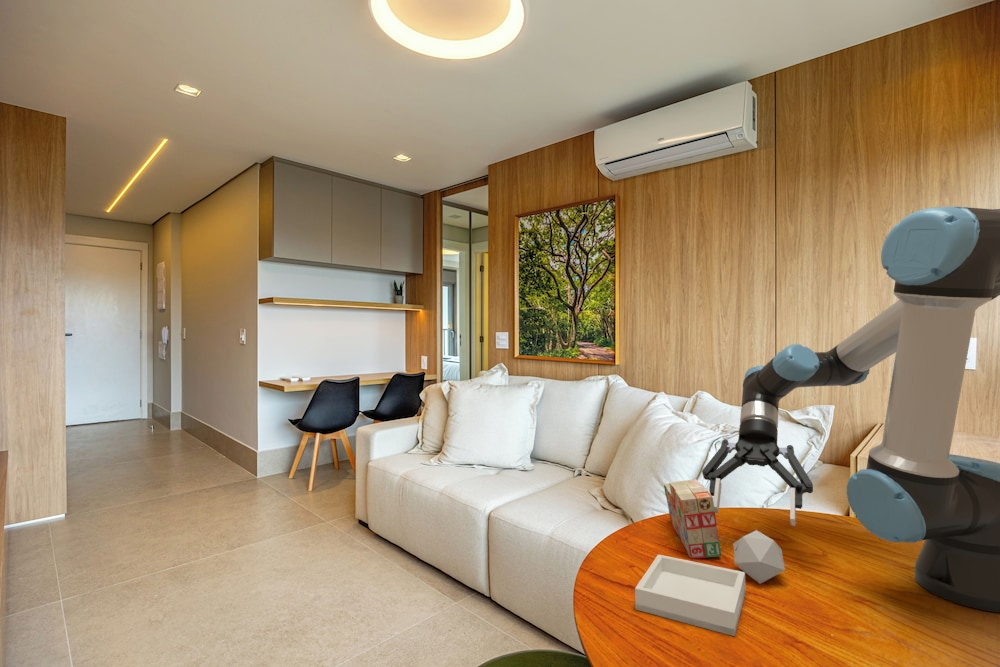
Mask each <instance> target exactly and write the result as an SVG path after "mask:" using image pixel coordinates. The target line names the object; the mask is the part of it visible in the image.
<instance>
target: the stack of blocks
mask: <svg viewBox="0 0 1000 667" xmlns="http://www.w3.org/2000/svg"><path fill="white" fill-rule="evenodd" d="M663 489H664V495H665V498H666V502H667V503H666V504H667V509H668V514H669V515H668V516H669V520H670V522H671V524H672V526H673V529H674V530H675V532H676V533H677V536H678V537H679V539H680V541H681V543H682V545H683V547H684V549H685V551H686V553H687V555H688V557H689V558H690V560H696V559H706V558H717V557H722V548H721V542H720V539H719V533H718V522H717V518H716V513H715V510H714V503H713V501H714V496H711V494H710V491H709V490H708V489H707V488H706V487H705V486H704V485H703V484H702V483H701V482H700V481H699V480H698V479H697V478H695V479H686V480H679V481H670V482H669V483H664V484H663Z"/></svg>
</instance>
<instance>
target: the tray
mask: <svg viewBox="0 0 1000 667" xmlns="http://www.w3.org/2000/svg"><path fill="white" fill-rule="evenodd" d="M634 592H635V593H634V597H635V599H634V600H635V606H634V607H635V610H636V611H639V612H643V613H646V614H651V615H653V616H654V615H655V616H659V617H661V618H666V619H670V620H672V621H676V622H680V623H683V624H688V625H691V626H695V627H698V628H703V629H707V630H709V631H713V632H718V633H721V634H724V635H729V636H733V637H736V633H737V630H738V626H739V625H738V624H739V621H740V617H741V612H742V608H743V605H744V601H745V596H746V573H745V572H744V571H742V570H741V571H740V570H735V569H731V568H727V567H722V566H717V565H716V566H715V565H711V564H706V563H702V562H697V561H692V560H687V559H682V558H677V557H672V556H668V555H663V554H657V556H656V557H655V558H654V560H653V562H652V563H651V564H650V566H649V567H648V569H647V570H646V572H645V573H644V575H643V576H642V578H641V579H640V580H639V581H638V583H637V585H636V586H635V588H634Z"/></svg>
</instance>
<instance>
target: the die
mask: <svg viewBox="0 0 1000 667" xmlns="http://www.w3.org/2000/svg"><path fill="white" fill-rule="evenodd" d="M733 557H734V558H733V559H734V561H733V562H734V564H735V565H736V566H737V567H738V568H739V569H740V570H741V572H745V575H748V576H749V577H750V578H752V580H754V581H755V582H757V584H760V585H761V584H763V583H765V582H767V581H769V580H770V579H772V578H774V577H776V576H777V575H779V574H781V573H783V572H784V571H786V568H785V561H784V557H783V551H782V548H781V547H780V545H778V544H777V542H776V541H775V540H774V539H772V538H770V537H769V536H767V535H765V534H763V533H762V532H761V531H758V529H756V530H754V531H752V532H750V533H747V534H746V535H744V536H741V537H740V538H739V539H738V540H736V541H735V542H733Z"/></svg>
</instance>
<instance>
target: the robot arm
mask: <svg viewBox="0 0 1000 667" xmlns="http://www.w3.org/2000/svg"><path fill="white" fill-rule="evenodd" d="M880 259H881V260H880V261H881V265H882V268H883V269H884V270H885V271H886V275H887V276H888V277H889V278H891V279H892V280H893V281H894V288H893V295H894V296H895V297H896V298H897V299H898V300H897V301H895V302H894V303H893V304H891V305H890V306H889V307H888V308H886V309H884V311H882V312H881V313H879V314H878V315H877V316H874V318H872V319H871V320H870V321H868V322H867V323H865V324H864V325H862V326H861V327H860V328H859V329H857V330H855V332H853V333H852V334H851V335H849V336H847V337H846V338H845V339H844V340H843V341H840V343H839V344H837V345H835V346H834V347H833V348H831V349H830V350H828V351H821V352H817V351H816V352H815V351H813V349H811V348H809V347H808V346H803V345H802V344H800V343H793V344H790V345H787V346H786V347H784V349H782V350H780V351H779V352H777V353H776V354H775V356H773V357H772V359H770V360H769V362H767V363H766V364H765V365H756V366H754V367H749V368H748V369H747V370H746V372H745V374H744V378H743V381H742V382H743V383H742V394H741V395H742V396H741V409H740V418H739V419H740V420H739V427H738V428H739V429H738V430H739V431H738V440H737V442H735V443H734V442H730V441H729V440H728V439H726V438H725V439H722V442H721V445H720V448H719V449H718V450H717V451H716V453H715V454H714V455H713V456H712V457H711V459H710V460H709V461H708V462H707V464H706V465H705V466H704V468H702V470H701V471H702V477H703V479H704V480H707V481H709V482H710V483H709V490H708V492H709V493H710V495H711V496H712V497H713V503H714V510H715V514H719V513H720V512H719V511H720V502H721V496H722V495H721V494H722V480H723V479H725V478H726V477H727V476H728V475H730V474H731V473H733V472H734V471H735V470H736V469H738V468H739V467H742V466H743V465H745V464H748V466H758V467H765V466H768V467H769V468H770V469H772V470H773V471H775V473H776V474H777V475H778V476H779V477H780V479H782V480H783V481H784V482H785V484H787V486H789V487H790V498H789V500H790V502H789V505H790V506H789V510H790V511H789V514H790V515H789V520H790V522H789V523H790V526H793V527H794V526H796V509H800V510H802V509H803V496H804V494H806V493H808V494H812V493H813V492H814V484H813V482H812V480H811V479H810V477H809V476H808V474H807V473H806V470H804V468H803V466H802V465H801V463H800V461H799V460H798V458H797V456H796V454H795V450H794V449H795V448H794V446H793V445H791V444H788V445H787V446H786V447H779V446H778V435H779V434H778V431H779V430H778V428H779V406H780V405H779V404H780V401H781V399H783V398H784V397H786V396H788V394H790V393H791V392H792V391H794V390H795V389H797V388H807V387H809V388H813V387H833V386H834V387H835V386H836V387H837V386H840V387H849V386H851V385H857V384H862V382H864V381H865V380H866V379H867V377H868V376H869V374H870V369H872V368H873V367H875V366H877V365H878V364H879V363H881V362H883V361H885V360H886V359H888V358H889V357H891V356H892V355H895V358H894V363H893V369H892V376H891V383H890V388H889V396H888V402H887V406H886V407H887V408H886V414H885V420H884V427H883V434H882V438H881V440H882V441H881V443H880V444H878V445H875V446H874V447H872V448H870V449H869V451H868V456H867V457H868V458H867V463H866V469H865V468H864V469H863V468H862V469H860V470H858V471H857V472H855V473H854V474H851V476H850V477H849V479H848V481H847V484H846V496H847V501H848V504H849V507H850V509H851V511H852V512H853V513H854V515H855V516H856V518H857V520H858V522H860V524H861V525H862V526H863V527H864V528H865V529H866V530H867V531H868V532H870V533H872V534H873V535H874V536H876V537H877V538H879V539H882V540H883V541H887V542H890V543H891V542H892V543H913V544H915V543H917V542H918V543H919V542H921V541H924V543H923V544H922V547H921V549H920V552H919V555H918V557H917V560H916V561H915V563H914V564H915V565H914V578H915V581H916V583H918V585H919V586H920V587H922V588H923V589H925V591H928V592H930V593H931V594H933V595H936V596H937V597H940V598H942V599H945V600H947V601H950V602H953V603H955V604H958V605H962V606H965V607H969V608H973V609H976V610H982V611H987V612H992V613H998V614H999V613H1000V462H997V461H996V462H995V461H991V460H987V459H983V458H982V459H981V458H976V457H970V456H964V455H957V454H951V453H950V451H951V447H952V442H953V441H952V440H953V437H954V431H955V426H956V419H957V414H958V408H959V404H960V403H959V402H960V398H961V394H962V393H961V392H962V386H963V381H964V376H965V370H966V366H967V361H968V360H967V359H968V354H969V348H970V344H971V337H972V332H973V325H974V322H975V321H974V320H975V316H976V311H977V310H978V309H979V308H980V307H981V306H983V305H984V304H987V303H988V302H990V301H991V302H992V301H993V300H994V299H995V298H997V297H999V296H1000V208H998V209H997V208H992V209H991V208H978V207H968V206H967V207H965V206H951V205H948V206H942V207H941V206H940V207H928V208H923V209H921V210H917V211H914V212H913V213H910V214H908V215H906V216H905V217H904V218H903V219H902V220H901V221H900V222H898V223H897V224H895V225H894V227H893V228H892V229H891V230H890V231H889V233H888V234H887V235H886V237H885V240H884V242H883V245H882V248H881V253H880ZM733 450H735V451H736V453H735V454H734V455H733V456H732V457H731V458H730V459H729V460H727V461H726V462H725V463H723V462H724V460H726V458H727V456H728V454H731V453H732V452H733ZM779 455H782V456H783V458H784V459H786V460H788V463H789V465H790V466H791V468H792V471H793V472H794V473H795V475H796V476H797V478H798V479H796V478H795V476H794V475H793V474H792V473H791V471H789V470H788V469H787V468H786V467H785V466H784V465H783V464H782V463H781V462H780V461H779V458H778V457H779ZM721 464H722V465H721ZM798 480H799V481H798Z"/></svg>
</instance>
